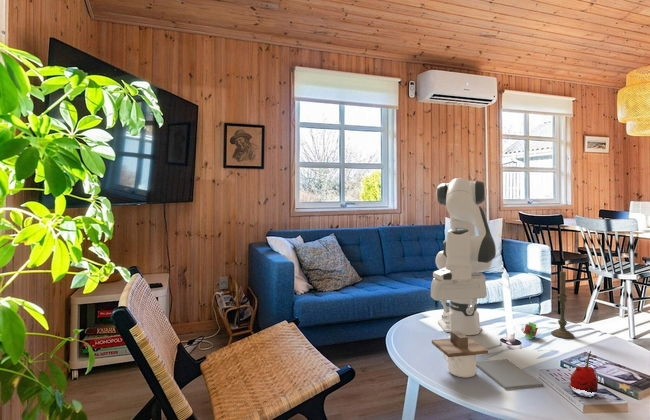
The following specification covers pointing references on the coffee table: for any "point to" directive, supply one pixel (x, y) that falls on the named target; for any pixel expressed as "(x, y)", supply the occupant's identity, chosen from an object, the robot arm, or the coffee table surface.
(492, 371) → the mat
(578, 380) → the candy apple
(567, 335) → the candlestick holder
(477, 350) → the lid
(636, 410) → the coffee table surface
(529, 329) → the geometric puzzle
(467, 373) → the mug
